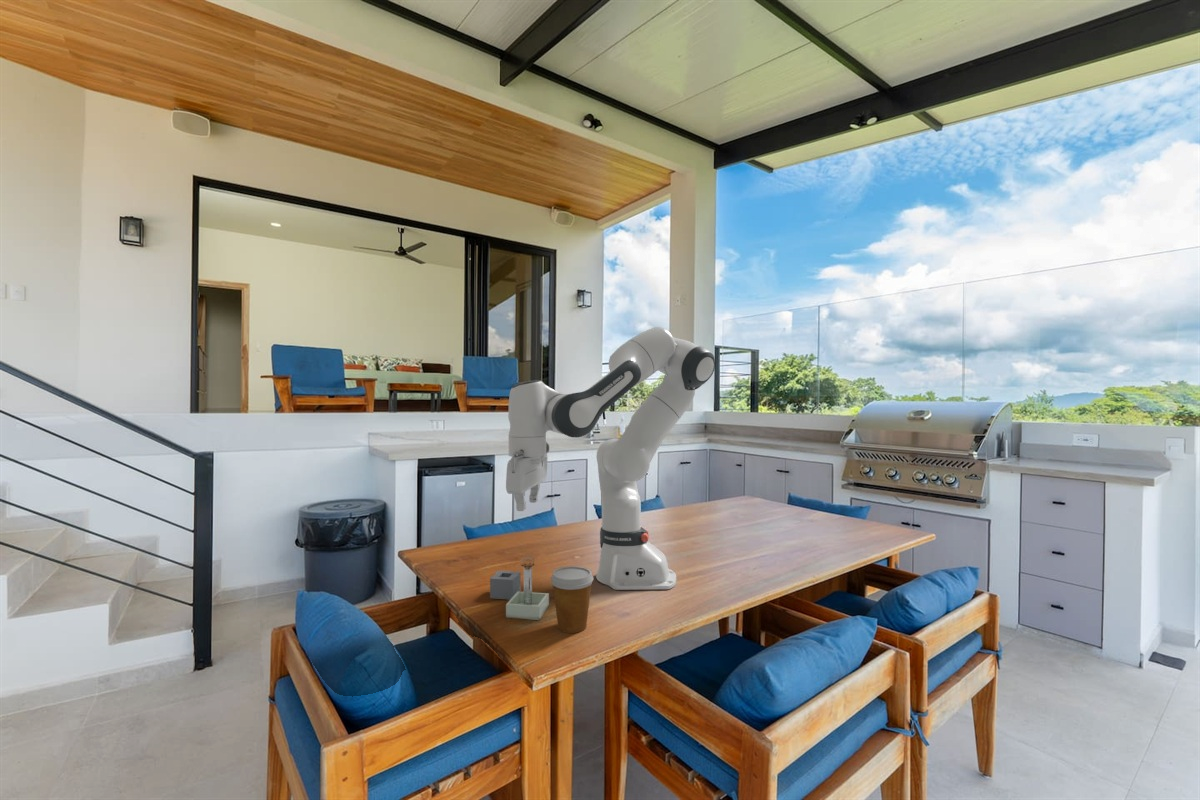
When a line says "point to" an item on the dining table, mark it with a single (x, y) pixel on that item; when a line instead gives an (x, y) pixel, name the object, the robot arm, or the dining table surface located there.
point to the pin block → (505, 584)
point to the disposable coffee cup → (572, 597)
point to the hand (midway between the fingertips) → (527, 506)
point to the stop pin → (527, 578)
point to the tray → (527, 606)
